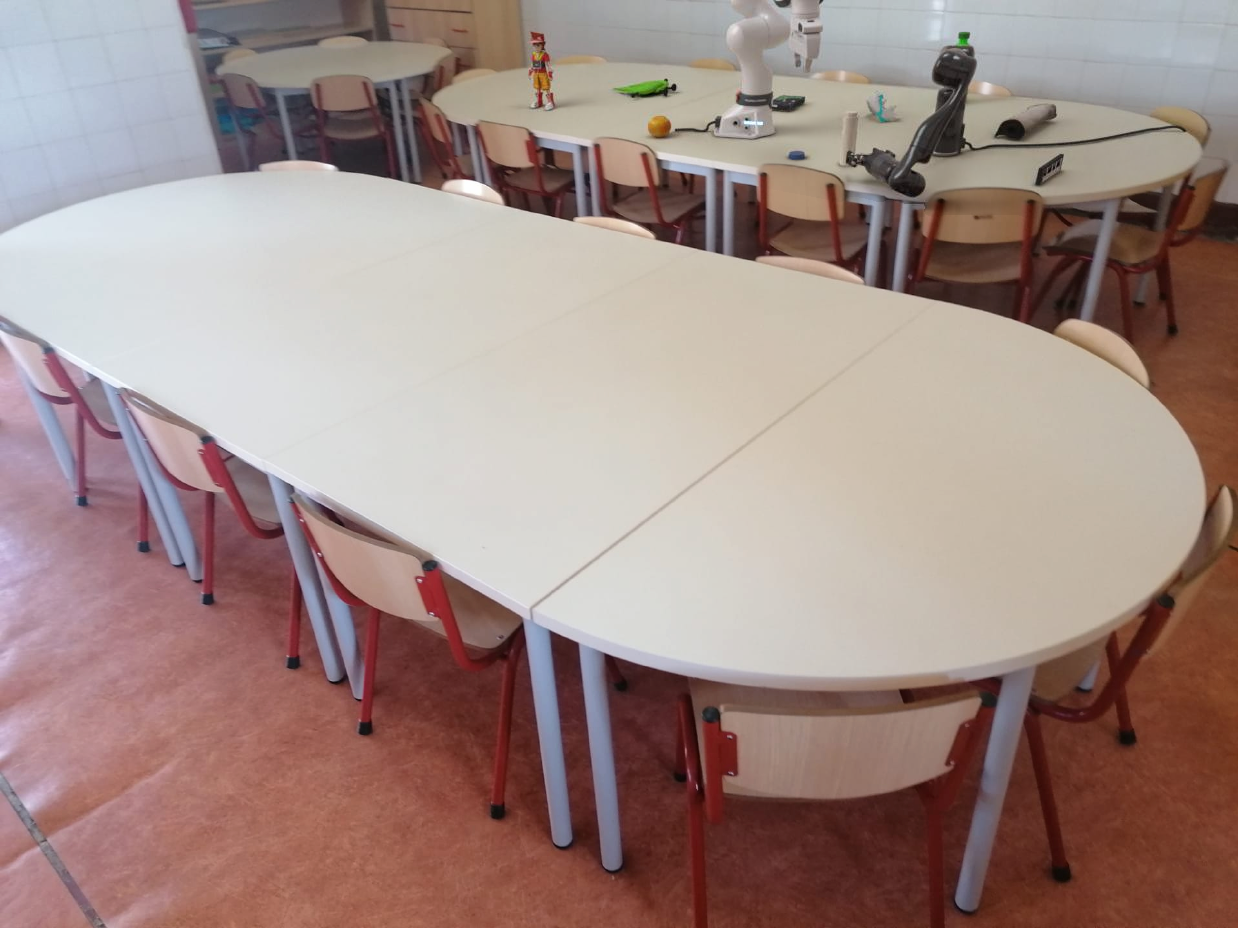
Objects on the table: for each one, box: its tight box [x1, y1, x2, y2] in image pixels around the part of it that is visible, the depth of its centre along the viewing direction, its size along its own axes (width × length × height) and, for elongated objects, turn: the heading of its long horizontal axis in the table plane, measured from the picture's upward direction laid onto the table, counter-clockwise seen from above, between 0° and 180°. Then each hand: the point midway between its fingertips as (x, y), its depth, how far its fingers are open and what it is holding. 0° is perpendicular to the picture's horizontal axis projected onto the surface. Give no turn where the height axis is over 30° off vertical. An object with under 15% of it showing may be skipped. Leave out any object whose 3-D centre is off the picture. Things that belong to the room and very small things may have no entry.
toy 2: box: [612, 78, 677, 99], centre depth 396 cm, size 28×5×30 cm
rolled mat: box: [993, 103, 1058, 141], centre depth 317 cm, size 30×9×10 cm
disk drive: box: [772, 94, 806, 112], centre depth 362 cm, size 10×3×15 cm
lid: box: [788, 150, 806, 161], centre depth 305 cm, size 5×5×2 cm
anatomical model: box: [865, 90, 901, 123], centre depth 339 cm, size 15×10×10 cm
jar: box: [839, 109, 860, 167], centre depth 292 cm, size 5×5×17 cm
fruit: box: [647, 115, 672, 138], centre depth 334 cm, size 8×8×8 cm
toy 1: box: [527, 31, 556, 111], centre depth 374 cm, size 12×9×30 cm
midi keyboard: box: [1035, 153, 1065, 186], centre depth 273 cm, size 18×1×5 cm, turn 138°
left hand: (801, 69), depth 289 cm, fingers open, 8 cm apart
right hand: (860, 152), depth 285 cm, fingers open, 8 cm apart
